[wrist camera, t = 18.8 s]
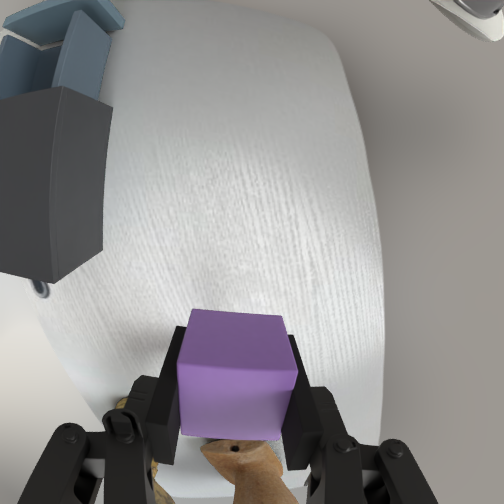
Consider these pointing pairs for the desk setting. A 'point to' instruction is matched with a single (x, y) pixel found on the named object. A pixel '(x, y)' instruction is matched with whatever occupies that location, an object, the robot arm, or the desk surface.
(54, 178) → the cabinet
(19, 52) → the drawer
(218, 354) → the cube
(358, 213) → the desk surface
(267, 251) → the desk surface
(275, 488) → the stone cup
